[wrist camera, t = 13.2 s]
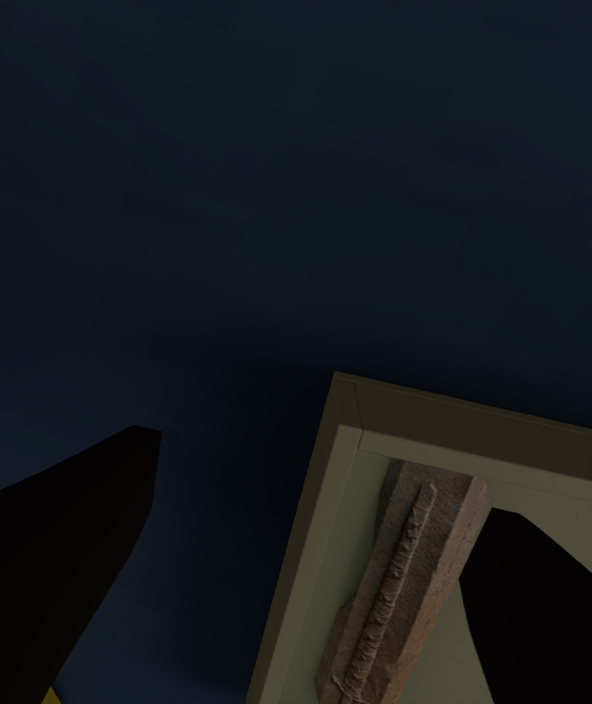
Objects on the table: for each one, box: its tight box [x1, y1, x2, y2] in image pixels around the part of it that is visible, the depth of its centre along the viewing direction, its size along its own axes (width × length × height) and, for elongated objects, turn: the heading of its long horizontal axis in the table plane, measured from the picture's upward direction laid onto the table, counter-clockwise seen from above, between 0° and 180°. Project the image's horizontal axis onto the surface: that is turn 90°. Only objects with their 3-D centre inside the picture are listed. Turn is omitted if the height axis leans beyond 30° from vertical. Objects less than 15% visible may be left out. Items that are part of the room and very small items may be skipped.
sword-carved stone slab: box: [314, 460, 490, 704], centre depth 21 cm, size 18×3×4 cm
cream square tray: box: [246, 371, 592, 704], centre depth 19 cm, size 22×22×5 cm
